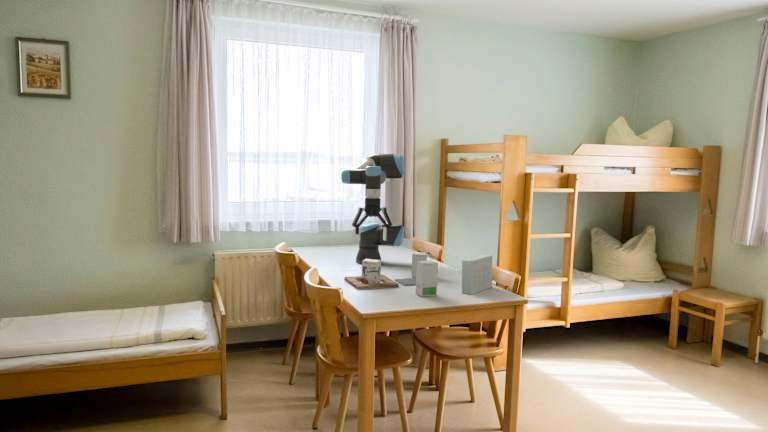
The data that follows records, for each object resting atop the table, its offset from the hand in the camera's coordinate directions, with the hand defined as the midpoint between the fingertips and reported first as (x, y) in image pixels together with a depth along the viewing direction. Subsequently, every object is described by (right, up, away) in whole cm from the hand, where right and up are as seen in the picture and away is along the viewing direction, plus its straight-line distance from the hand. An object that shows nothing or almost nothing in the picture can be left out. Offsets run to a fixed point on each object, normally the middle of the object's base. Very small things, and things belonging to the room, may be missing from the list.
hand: (371, 240), depth 265 cm
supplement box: (+25, -20, +21) cm, 38 cm away
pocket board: (-1, -21, +2) cm, 22 cm away
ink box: (-1, -22, +2) cm, 22 cm away
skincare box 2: (+51, -24, -5) cm, 56 cm away
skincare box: (+25, -24, -17) cm, 39 cm away
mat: (+19, -21, +7) cm, 30 cm away
